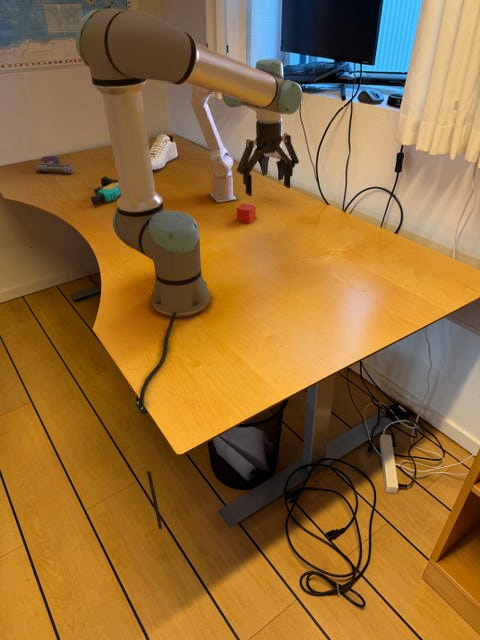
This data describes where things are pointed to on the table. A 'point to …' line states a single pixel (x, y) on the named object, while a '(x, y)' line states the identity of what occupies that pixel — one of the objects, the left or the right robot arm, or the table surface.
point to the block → (246, 213)
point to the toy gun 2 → (106, 191)
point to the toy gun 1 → (53, 165)
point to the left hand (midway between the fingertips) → (268, 190)
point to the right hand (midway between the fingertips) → (272, 177)
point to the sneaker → (163, 151)
